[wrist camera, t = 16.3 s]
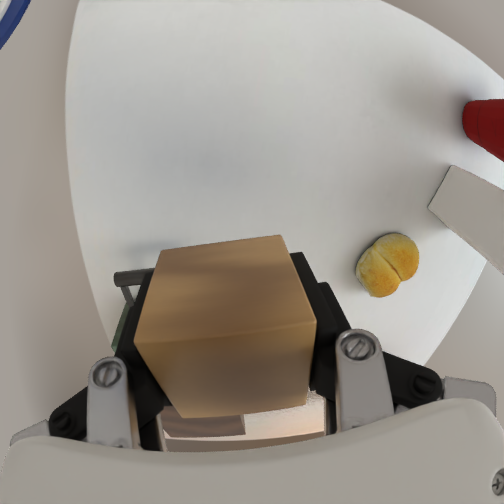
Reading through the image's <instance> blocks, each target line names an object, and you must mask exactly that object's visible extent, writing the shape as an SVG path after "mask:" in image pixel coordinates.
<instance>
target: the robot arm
mask: <svg viewBox="0 0 504 504" xmlns="http://www.w3.org/2000/svg"><path fill="white" fill-rule="evenodd" d="M11 1H12V0H0V21H1V20H2V18H3V16H4V14H5V13H6V11H7V9H8V7H9V5H10V3H11ZM289 254H290V257H291V259H292V262H293V264H294V266H295V269H296V271H297V274H298V276H299V278H300V281H301V283H302V286H303V288H304V290H305V293H306V295H307V298H308V300H309V303H310V305H311V308H312V310H313V313H314V315H315V318H316V320H317V323H316V333H315V342H314V350H313V358H312V366H311V373H310V380H309V387H310V391H314V390H316V393H317V394H319V395H321V396H323V397H324V437H319V438H316V439H311V440H306V441H301V442H296V443H291V444H285V445H278V446H271V447H264V448H256V449H248V450H237V451H222V452H168V450H167V446H166V441H165V436H164V431H163V426H162V420H161V415H160V412H161V411H163V410H164V406H172V405H173V404H172V403H171V401H170V400H169V399H168V397H167V396H166V394H165V393H164V391H163V390H162V388H161V387H160V385H159V384H158V382H157V381H156V379H155V377H154V376H153V374H152V373H151V371H150V369H149V368H148V366H147V365H146V363H145V361H144V360H143V358H142V356H141V355H140V353H139V351H138V349H137V348H136V346H135V344H134V337H135V333H136V329H137V326H138V322H139V319H140V315H141V312H142V308H143V305H144V301H145V298H146V295H147V292H148V288H149V285H150V282H151V279H152V276H153V273H154V271H150V272H146V273H145V275H144V278H143V280H142V283H141V286H140V289H139V292H138V295H137V298H136V301H135V303H134V306H131V307H130V309H129V311H128V314H127V317H126V320H125V323H124V326H123V329H122V332H121V335H120V339H119V342H118V345H117V349H116V352H115V355H114V357H105V358H102V359H101V360H99V361H97V362H96V363H95V364H94V365H93V366H92V368H91V370H90V373H89V377H88V378H89V379H88V386H87V387H85V388H84V389H83V390H82V391H80V392H79V393H77V394H76V395H74V396H73V397H72V398H70V399H69V400H68V401H66V402H65V403H63V404H62V405H61V406H59V407H58V408H56V409H55V410H54V411H53V412H52V414H51V416H50V419H49V421H47V420H46V419H45V420H43V421H41V422H39V423H37V424H35V425H33V426H31V427H28V428H26V429H24V430H22V431H20V432H18V433H16V434H15V435H14V436H13V437H12V439H11V442H10V448H9V450H8V452H7V454H6V456H5V459H4V463H3V466H2V470H1V475H0V504H504V431H503V429H502V427H501V425H500V424H499V422H498V420H497V419H496V394H495V391H494V389H493V387H492V386H490V385H489V384H487V383H485V382H478V381H471V380H465V379H459V378H452V377H447V376H445V378H444V379H441V378H440V377H439V376H438V374H437V373H436V372H435V371H433V370H431V369H429V368H426V367H424V366H421V365H418V364H415V363H413V362H410V361H407V360H404V359H402V358H399V357H396V356H394V355H391V354H389V353H386V352H383V351H382V349H381V345H380V342H379V340H378V338H377V337H376V336H375V335H374V334H372V333H371V332H369V331H366V330H363V329H351V327H350V325H349V323H348V321H347V319H346V317H345V315H344V313H343V311H342V309H341V307H340V305H339V303H338V301H337V299H336V297H335V295H334V293H333V291H332V290H331V288H330V286H329V284H328V283H327V282H322V283H317V281H316V278H315V276H314V274H313V272H312V270H311V268H310V266H309V264H308V262H307V260H306V258H305V256H304V254H303V253H302V252H297V253H289Z"/></svg>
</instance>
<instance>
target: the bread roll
mask: <svg viewBox="0 0 504 504" xmlns="http://www.w3.org/2000/svg"><path fill="white" fill-rule="evenodd" d="M418 264H419V252H418V248H417V246H416V244H415V243H414V241H412V240H411V239H410V238H408V237H407V236H405V235H402V234H396V233H393V234H387V235H385V236H383V237H381V238H380V239H378V240H377V241H376V242H375V243H374V244H373V246H372V247H370V248H368V249H367V250H366V251H365V252H364V253H363V255H362V256H361V258H360V259H359V261H358V263H357V267H356V276H357V278H358V280H359V282H360V283H361V284H362V286H363V287H364V288H365V289H366V291H367V292H368V293H369V295H370V296H374V297H379V298H380V297H385V296H388V295H390V294H392V293H393V292H395V291H396V289H397V288H398V286H399V284H400V283H401V282H402V281H406V280H408V279H410V278H411V277H412V276H413V275H414V274H415V272H416V270H417V268H418Z"/></svg>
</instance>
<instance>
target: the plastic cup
mask: <svg viewBox="0 0 504 504" xmlns="http://www.w3.org/2000/svg"><path fill="white" fill-rule="evenodd" d="M462 122H463V128H464V131H465V133H466V135H467V136H468V137H469V138H470V140H472V141H473V142H474V143H476V144H478V145H479V146H481V147H483V148H484V149H486V151H488V152H489V153H491V154H493V155H494V156H496V157H497V158H499V159H500V160H502V161H503V162H504V99H489V100H475V101H471V102H468V103H467V104H466V106H465V107H464V110H463V116H462Z"/></svg>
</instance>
